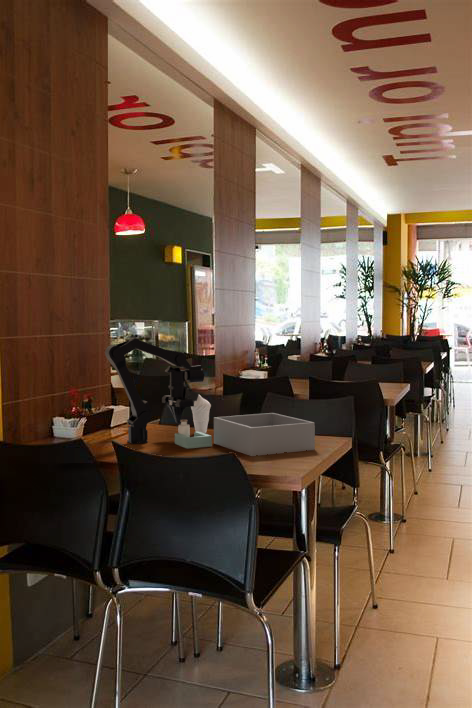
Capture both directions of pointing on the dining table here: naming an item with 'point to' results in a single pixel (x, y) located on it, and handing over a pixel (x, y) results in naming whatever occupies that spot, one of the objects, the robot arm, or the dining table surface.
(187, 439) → the teal rectangular tray
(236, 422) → the frame
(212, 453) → the dining table surface
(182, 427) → the bottle
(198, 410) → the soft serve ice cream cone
